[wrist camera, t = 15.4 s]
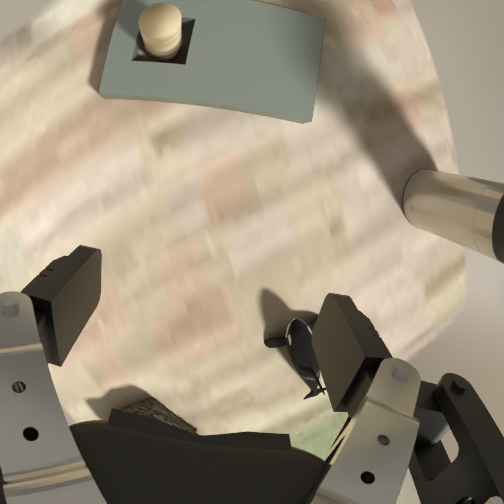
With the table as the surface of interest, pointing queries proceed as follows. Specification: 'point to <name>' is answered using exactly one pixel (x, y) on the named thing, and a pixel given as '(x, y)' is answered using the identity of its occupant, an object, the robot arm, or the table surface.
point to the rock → (157, 413)
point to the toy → (301, 353)
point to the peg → (161, 31)
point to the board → (223, 59)
